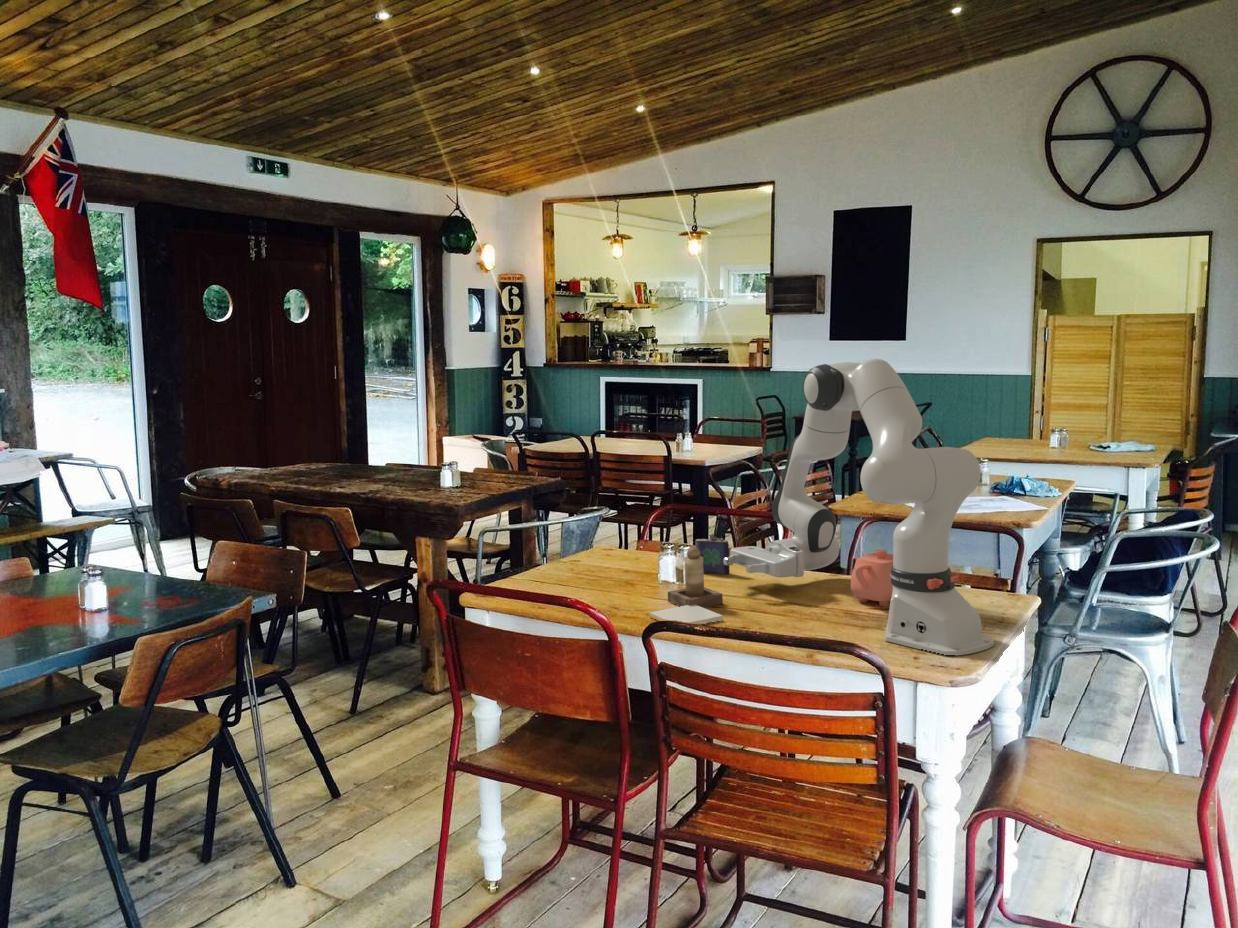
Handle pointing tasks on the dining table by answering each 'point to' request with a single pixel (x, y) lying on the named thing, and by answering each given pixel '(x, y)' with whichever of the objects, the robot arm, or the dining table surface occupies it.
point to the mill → (694, 573)
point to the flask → (713, 554)
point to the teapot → (873, 578)
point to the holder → (695, 598)
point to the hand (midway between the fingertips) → (736, 565)
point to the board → (688, 614)
